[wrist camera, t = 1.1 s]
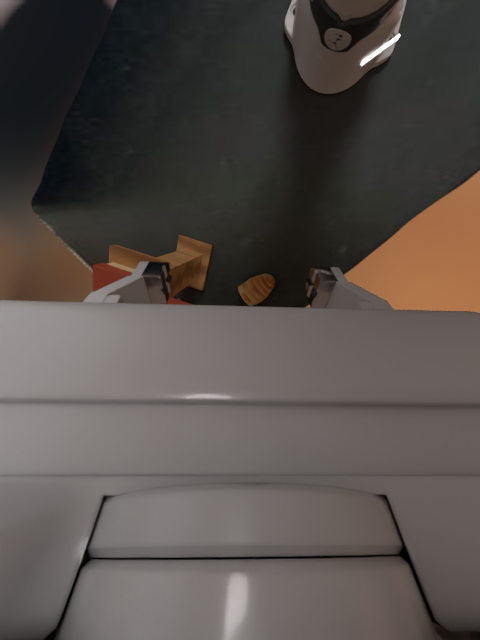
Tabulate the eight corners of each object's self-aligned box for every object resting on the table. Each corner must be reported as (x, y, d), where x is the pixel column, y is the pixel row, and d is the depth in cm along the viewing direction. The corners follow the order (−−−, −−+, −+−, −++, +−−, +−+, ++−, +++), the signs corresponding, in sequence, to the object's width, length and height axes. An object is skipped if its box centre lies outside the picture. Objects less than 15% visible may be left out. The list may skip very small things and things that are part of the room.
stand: (180, 234, 55) (109, 245, 32) (213, 245, 55) (165, 263, 32) (173, 279, 60) (108, 317, 37) (203, 289, 60) (156, 333, 37)
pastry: (265, 265, 55) (264, 268, 52) (281, 287, 57) (281, 291, 53) (236, 286, 58) (234, 291, 55) (251, 306, 60) (250, 311, 57)
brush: (112, 260, 33) (92, 264, 29) (218, 295, 32) (211, 303, 29) (111, 308, 36) (93, 317, 33) (207, 339, 36) (199, 352, 32)
